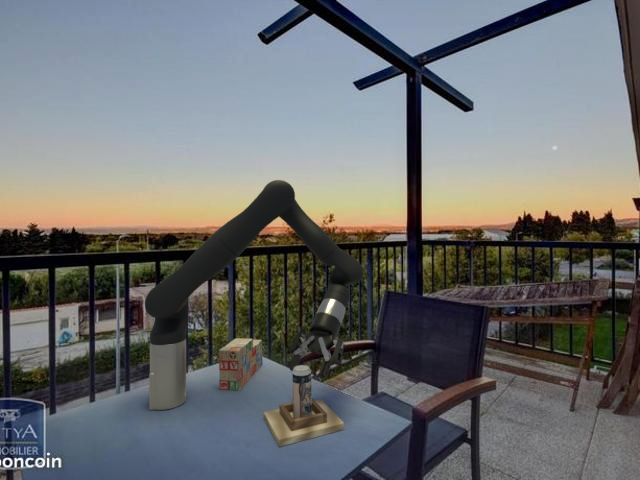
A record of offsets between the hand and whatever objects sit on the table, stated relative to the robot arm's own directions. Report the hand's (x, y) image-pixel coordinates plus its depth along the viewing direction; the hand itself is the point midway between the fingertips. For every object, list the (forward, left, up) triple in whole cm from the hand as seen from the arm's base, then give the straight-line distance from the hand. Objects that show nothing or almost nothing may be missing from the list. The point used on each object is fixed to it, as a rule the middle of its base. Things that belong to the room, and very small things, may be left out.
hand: (306, 374), depth 83 cm
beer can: (-1, -1, -10) cm, 10 cm away
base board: (-1, -1, -11) cm, 12 cm away
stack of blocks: (-9, +35, -12) cm, 38 cm away
